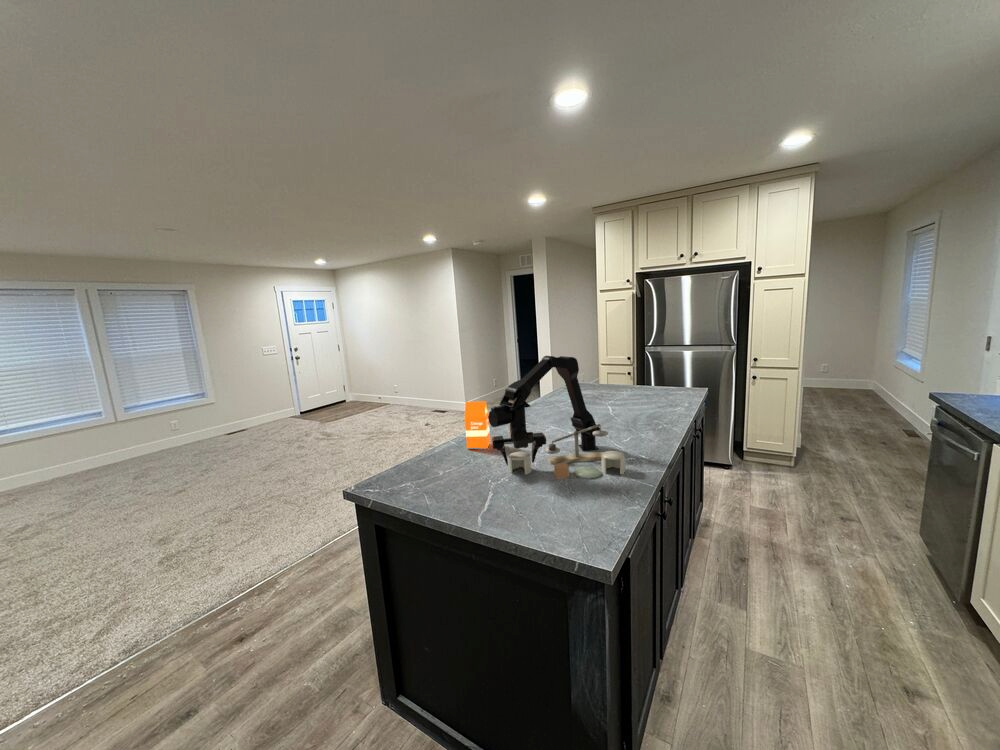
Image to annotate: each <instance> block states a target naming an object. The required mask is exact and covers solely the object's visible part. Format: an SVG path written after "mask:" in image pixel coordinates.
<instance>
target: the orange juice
mask: <svg viewBox="0 0 1000 750" xmlns="http://www.w3.org/2000/svg"><path fill="white" fill-rule="evenodd" d="M488 416H489V409H488V407H487V402H486V401H465V411H464V424H465V438H466V449H467V448H488V446H489V444H490V445H491V434H490V423H489V419H488ZM489 447H490V446H489ZM488 449H489V448H488Z"/></svg>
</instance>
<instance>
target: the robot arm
mask: <svg viewBox="0 0 1000 750" xmlns="http://www.w3.org/2000/svg"><path fill="white" fill-rule="evenodd" d="M553 368H555V370H556V372H557V374H558V375H559V377H561V378H562V379H563V381H564V383H565V388H566V390H567V393H568V396H569V399H570V404H571V407H572V410H573V415H572V416H571V417H570V421H571V426H572V427H573V428H574V429H575V431H581V430H584V429H586V428H589V427H592V426H595V425H597V424H596V421H595V419H594V416H593V415H592V413H591V412H590V411H589V410H588V409H587V406H586V403H585V400H584V396H583V393H582V389H581V386H580V383H579V379H578V374H579V371H580V369H579V362H578V359H577V358H576V357H574V356H563V355H562V356H558V357H557V356H553V355H544V356H543V357H542V358H541V360H540V361H539V362H538V363H536V365H534V367H533V368H531V370H529V372H527V374H526V375H525V376H523V377H522V378H521V379H518V380H517V381H514V382H512V383H511V384H509V385H508V386H507V387H506V388H505V390H504V394H503V395H502V398H501V400H500V402H499V405H498V406H491V407H490V409H491V410H490V411H488V419H489V426H491V427H492V428H497V427H501V426H506V425H509V434H510V435H509V436H510V437H509V438H507V437H506V438H504V436H503V435H497V436H496V435H495V436H493V437H491V444H492V445H491V446H492V449H494V450H496V451H497V452H499V451H500V453H501V454H502V457H503V459H504V461H505V464H506V466H508V465H509V461H508V456H507V452H506V447H505V445H511V444H512V445H513V448H514V449H521V448H524V449H526V448H528V447H529V444H531V463H532V464H533V463H535V459H536V456H537V452H538V450H539V448H542V447H543V445H547V438H546V436H545V434H544V433H543V432H533V431H527V421H526V419H527V416H526V409H527V408H530V407H531V404H529V403H528V402H527V401H526V400H527V399H528V398H529V396H530V395H531V393H532V389H533V388H534V387H535V385H537V384H538V383H539V382H540V381H541V380H542V379H543V378H544V377H545V375H546V376H547V374H548V373H549V372H550V370H552V369H553ZM594 431H600V427H597V428H594V429H591V430H588V431H585V432H582V433H580V444H579V449H580V450H581V451H582V452H590V451H597V450H599V447H598V446H597V444H596V441H597V440H596V439H597V438H596V437H597V436H594V435H593V432H594Z"/></svg>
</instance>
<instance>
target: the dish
mask: <svg viewBox="0 0 1000 750" xmlns="http://www.w3.org/2000/svg"><path fill="white" fill-rule="evenodd" d="M601 472H602V471H601V470H600V469H599V468H598V467H594V466H581V467H577V468H576V469H575V470H574V475H575V476H576V477H577V476H578V477H577V478H581V479H584V478H586V480H591V478H593V479H597V478H599V477H600V476H601V475H600V474H602V473H601ZM598 476H599V477H598ZM596 477H597V478H596Z"/></svg>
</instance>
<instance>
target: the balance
mask: <svg viewBox="0 0 1000 750" xmlns="http://www.w3.org/2000/svg"><path fill="white" fill-rule="evenodd" d="M597 427H599V428H600V431H594V432H593V435H594V436H595V437H600V438H601V437H607V436H608V435H609V432H608V431H606V430H602V428H601V424H600V423H598V424H596V425H595V426H592V427H589V428H586V429H584V430H581V431H576V430H574V432H572V433H569V434H566V435H565V436H561V437H558V438H556V439H553V440H551V443H549V444H548V447H546V448H545V449H544V452H545V453H546V454H550V455H551V454H552V455H554V456H548V457H547V459H548V460H547V461H548V463H549V464H550V465H554V464H555V463H566V464H570V463H579V462H581V463H582V462H588V461H589V462H590V461H591V460H592V461H599V460H600V459H601V455H602V453H604V452H603V451H599V452H588V453H580V451H579V450H580V447H579V445H580V444H579V434H580V435H581V433H582V432H585V431H588V430H591V429H594V428H597ZM571 437H574V439H573V441H574V454H566V455H556V454H558V453H559V454H560V452H561V449H560V448H559V447H557V446H556V444H555V443H556V442H560V441H562V440H565V439H568V438H571ZM555 455H556V456H555ZM592 461H591V462H592Z"/></svg>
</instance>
